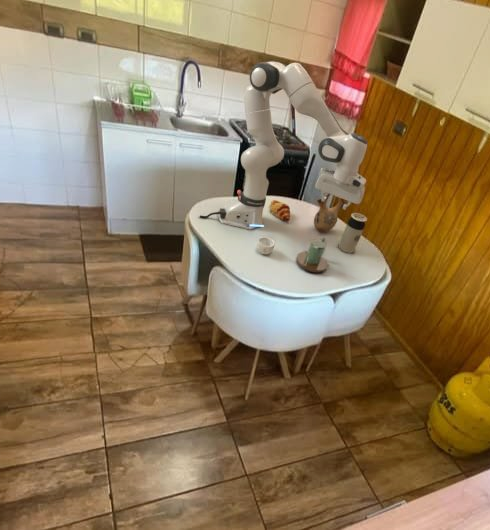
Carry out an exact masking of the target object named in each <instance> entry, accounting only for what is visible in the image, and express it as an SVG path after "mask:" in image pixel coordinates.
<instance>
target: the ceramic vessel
mask: <svg viewBox="0 0 490 530" xmlns="http://www.w3.org/2000/svg"><path fill="white" fill-rule="evenodd" d="M330 196H331V194H329V193H326V195H325V197H327V198H326V201H325V202H323V201H321V200H322V198H320V199H319V198H318V199H317V200H316V203H317V204H318V206H319V208H318V209H319V210H318V211H317V213H316V214H315V215H314V218H313V226H314V228H315V229H316V231H318V232H321V233H327V232H329V231H331V230H332V229H333V228H334V227H336V224H337V223H338V217H339V216H338V214H339V212H340V211H341V210H342V208H343V205H344V204H345V205H346V204H347V203H346V202H345V200H344V199H342V198H339V197H338V201H337V203H336V205H334V206H333V207H327V202H328V199H329V198H330Z"/></svg>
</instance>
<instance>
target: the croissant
mask: <svg viewBox="0 0 490 530" xmlns="http://www.w3.org/2000/svg"><path fill="white" fill-rule="evenodd" d="M269 208H270V212H271V213H272V214H273V215H274V216H275V217H277V218H278V219H280V220H282V221H284V222H288V221H290V220H291V210H290V209H291V208H290V206H289V204H286V203H284V202H281V201H278V200H277V199H273V200H272V201H270V205H269Z"/></svg>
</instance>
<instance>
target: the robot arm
mask: <svg viewBox="0 0 490 530" xmlns="http://www.w3.org/2000/svg"><path fill="white" fill-rule="evenodd" d="M249 82H250V85H248V86H247V87H246V88H245V90H244V97H243V98H244V99H243V101H244V105H243V106H244V114H245V121H246V123H245V124H246V129H247V132H248V134H249V135H250V136H251V137H252V138H253V140H254V143H255V145H254V146H250V147H249V148H247V149H246V150H244V151H243V152H242V153H241V156H240V163H241V166H242V168H243V169H244V170H245V182H244V186H243V187H244V188H243V191H242V190H241V189H238V190H237V195H238V196H237V197H236V198H235V199H232V200H230V201H227V203H226V204H225V206H224V207H223V208H221V207H220V208H219V211H214V212H211V213H209V214H207V215H199V218H200V219H201V218H202V219H207V218H209V217H211V216H214V215H218V220H219V221H220V222H221V223H222V224H224V225H228V226H233V227H237V228H242V229H246V230H253V229H255V228H258V227H261V228H264V227H265V225H264V224H263V214H264V213H263V212H264V208H265V205H266V201H267V197H266V196H267V192H268V189H269V185H270V182H269V181H270V180H269V179H268V178H267V171H268V169H270V168H271V167H274V166H277V165H278V164H279V163H280V162H282V160H283V159H284V157H285V149H284V147H283V146H282V144H280V142H279V141H278V139H277V136H276V134H275V132H274V127H273V120H272V113H271V112H272V111H271V105H270V97H271V95H274V94H277V93H278V92H280V91H282V90H283V91H284V92H285V94H286V97H287V98H288V100H289V102H290V104H291V106H292V107H293V108H294V110H296V111H297V113H299V114H301V115H304V116H307V117H310V118H312V119H314V120H315V121H316V122H317V123H318V124H319V125H320V127H321V128H322V130H323V131H324V133H325V135H326V137H325V138H323V139H322V140H321V141H320V142H319V144H318V148H317V150H318V155H319V157H320V159H322V160H323V161H325V162H330V163H335V164H336V167H335V169H334V170H331V169H328V168H325V167H324V168H321V169H320V170H319V172H318V179H317V180H316V182H315V184H314V187H315V189H316V190H319V191H320V192H321V193H320V194H321V199H322V200H321V201H323V202H325V201H326V198H327V197H326V195H325V194H328V193H329V194H330V196H331V195H332V196H333V197H337V198H338V199H339V198H342V199H343V200H344V201H347V203H346V205H345V204H344V205H343V207H342V208H341V210H343V211H346V210H347V208H348V207H349V206H350V205H351V204H352V203H353V204H355V205H359V204H361V203H362V200H363V198H364V195H365V191H366V187H365V185H366V184H367V179H366V178H365V177H364V176H362V175H361V174H359V170H360V166H361V164H362V162H363V161H364V158H365V155H366V152H367V148H368V141H367V139H366V138H365V137H364V136H362V135H361V134H359V133H355V132H351V133H349V132H347V131H346V130H344V129H343V128H342V126H341V125H340V124H339V122H338V120H337V118H336V117H335V115H334V114H333V112H332V111H331V109H330V108H329V106H328V105H327V104H326V102H325V100H324V99H323V98H322V95H321V94H320V92H319V90H318V88H317V86H316V84H315V82H314V81H313V79H312V78H311V75H310V74H309V73H308V71H307V70H306V69H305V68H304V66H303V65H301V63H299V62H291V63H289V64H288V65H287V64H285V63H283V62H281V61H272V60H271V61H261V62H259V63H257V64H255V65H254V66H253V67H252V68H251V70H250V73H249Z"/></svg>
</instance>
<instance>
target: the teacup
mask: <svg viewBox="0 0 490 530" xmlns="http://www.w3.org/2000/svg"><path fill="white" fill-rule="evenodd" d="M275 246H276V242H275V241H274V240H273V239H272V238H271V237H268V236H260V237H259V238H258V239H257V241H256V249H257V251H258V252H259V253H260V254H262V255H269V254H271V253H272V252H273V251H274V248H275Z"/></svg>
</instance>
